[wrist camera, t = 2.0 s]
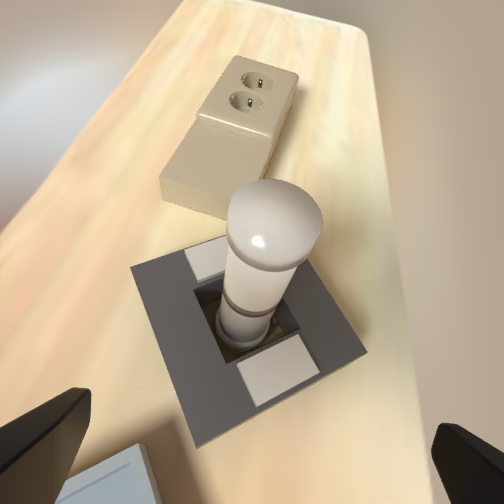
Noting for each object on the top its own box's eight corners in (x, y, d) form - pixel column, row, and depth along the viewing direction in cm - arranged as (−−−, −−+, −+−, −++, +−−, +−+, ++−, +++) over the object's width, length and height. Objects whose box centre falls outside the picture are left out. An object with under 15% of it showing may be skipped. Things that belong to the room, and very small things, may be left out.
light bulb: (275, 337, 23) (340, 236, 12) (228, 360, 22) (255, 269, 11) (252, 293, 25) (292, 170, 14) (206, 312, 23) (212, 192, 13)
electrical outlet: (157, 167, 25) (234, 52, 35) (162, 202, 28) (231, 89, 38) (249, 196, 25) (300, 72, 34) (243, 229, 28) (291, 107, 38)
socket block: (349, 364, 23) (370, 350, 20) (196, 449, 19) (196, 447, 16) (271, 239, 27) (280, 213, 24) (137, 287, 24) (128, 264, 21)
